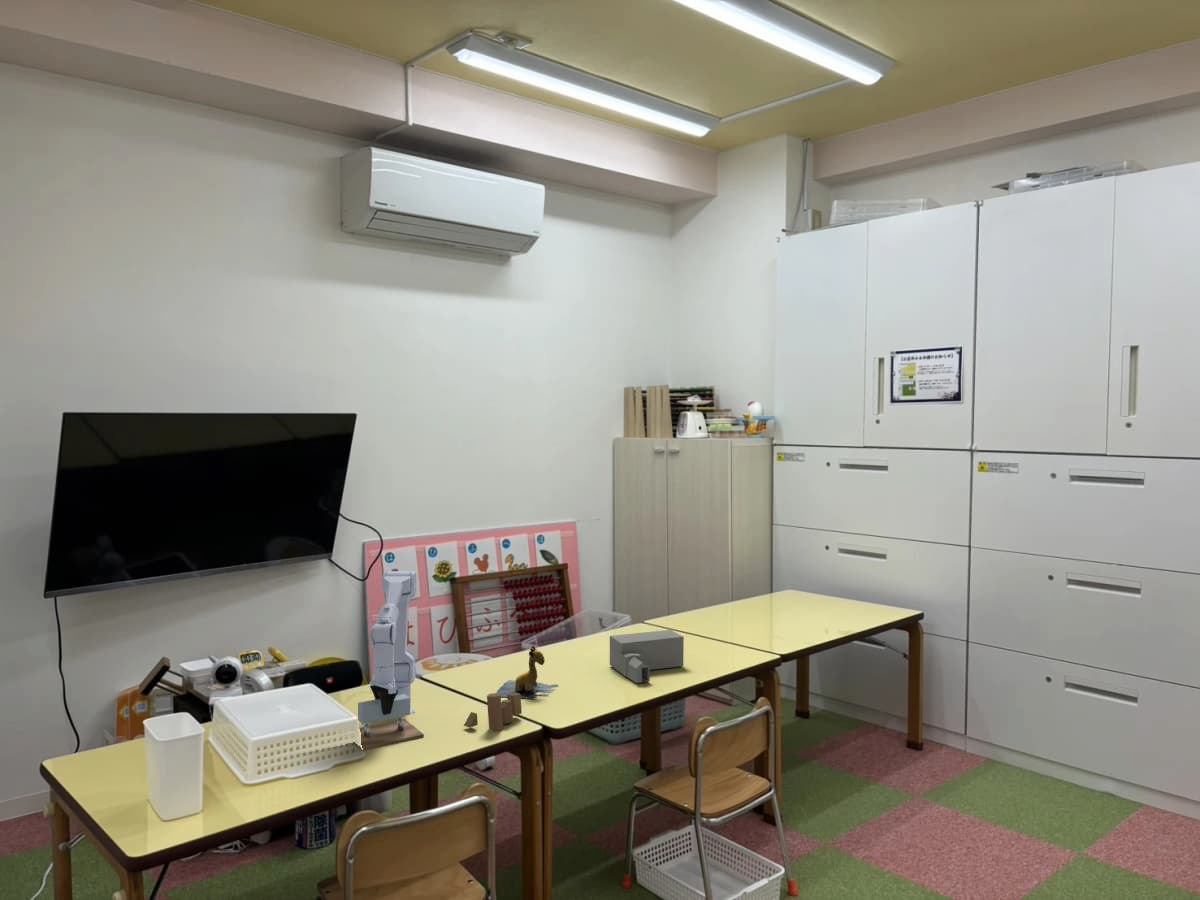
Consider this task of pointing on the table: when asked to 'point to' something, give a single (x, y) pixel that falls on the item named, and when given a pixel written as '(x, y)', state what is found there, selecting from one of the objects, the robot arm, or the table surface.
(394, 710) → the blue-grey rectangular block
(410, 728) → the peg plate
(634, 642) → the gray box with nozzle
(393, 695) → the robot arm
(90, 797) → the table surface
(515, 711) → the wooden block set
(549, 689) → the stuffed giraffe
